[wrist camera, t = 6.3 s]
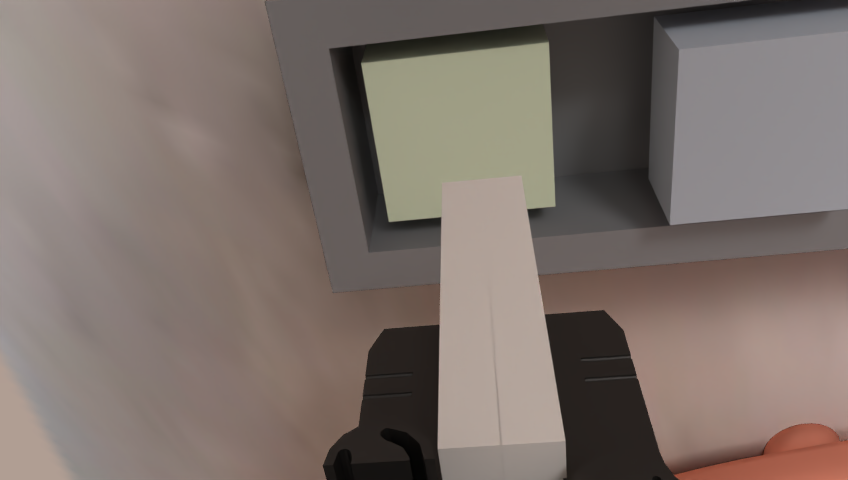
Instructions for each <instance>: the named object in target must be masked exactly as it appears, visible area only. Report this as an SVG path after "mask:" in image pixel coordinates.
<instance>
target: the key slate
mask: <svg viewBox="0 0 848 480" xmlns="http://www.w3.org/2000/svg"><path fill="white" fill-rule="evenodd" d="M648 179H649V181H650V183H651V185H652V187H653V190H654V192H655V194H656V196H657V198H658V200H659V203H660V205H661V207H662V209H663V211H664V213H665V216H666V218H667V220H668V222H669V224H670V225H677V224H688V223H699V222H710V221H721V220H732V219H744V218H755V217H766V216H777V215H788V214H799V213H810V212H821V211H832V210H843V209H848V0H792V1H784V2H775V3H766V4H757V5H749V6H740V7H731V8H722V9H714V10H705V11H696V12H687V13H678V14H670V15H661V16H654V30H653V59H652V88H651V118H650V147H649V176H648Z"/></svg>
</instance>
